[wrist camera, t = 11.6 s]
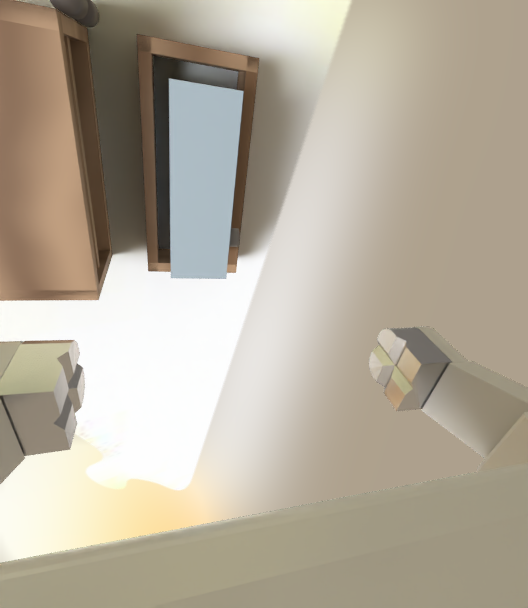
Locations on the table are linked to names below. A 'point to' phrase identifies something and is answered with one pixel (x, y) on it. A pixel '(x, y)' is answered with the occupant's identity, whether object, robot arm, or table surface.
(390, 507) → the robot arm
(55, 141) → the cabinet
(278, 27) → the table surface
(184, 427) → the table surface
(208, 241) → the door
